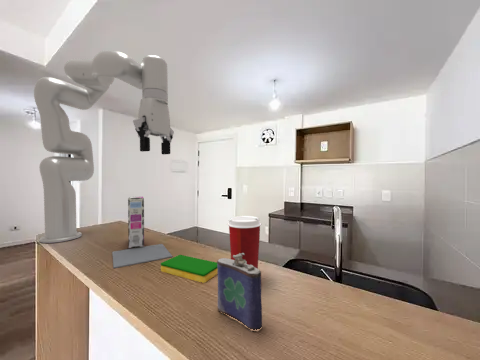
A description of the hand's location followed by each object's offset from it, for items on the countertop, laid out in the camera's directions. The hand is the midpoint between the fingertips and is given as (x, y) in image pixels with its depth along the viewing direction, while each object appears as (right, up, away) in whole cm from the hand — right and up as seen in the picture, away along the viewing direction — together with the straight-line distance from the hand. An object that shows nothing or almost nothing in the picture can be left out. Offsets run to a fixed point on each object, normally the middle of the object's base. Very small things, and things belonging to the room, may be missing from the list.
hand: (156, 152), depth 70 cm
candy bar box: (-9, -31, +7) cm, 33 cm away
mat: (-3, -31, -3) cm, 32 cm away
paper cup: (+28, -32, -20) cm, 46 cm away
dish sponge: (+14, -32, -15) cm, 38 cm away
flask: (+27, -32, -33) cm, 53 cm away
